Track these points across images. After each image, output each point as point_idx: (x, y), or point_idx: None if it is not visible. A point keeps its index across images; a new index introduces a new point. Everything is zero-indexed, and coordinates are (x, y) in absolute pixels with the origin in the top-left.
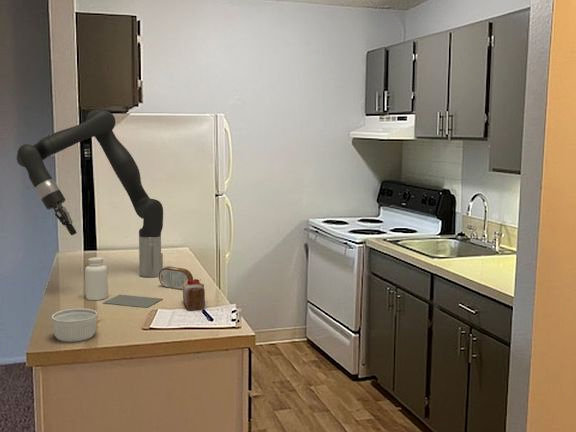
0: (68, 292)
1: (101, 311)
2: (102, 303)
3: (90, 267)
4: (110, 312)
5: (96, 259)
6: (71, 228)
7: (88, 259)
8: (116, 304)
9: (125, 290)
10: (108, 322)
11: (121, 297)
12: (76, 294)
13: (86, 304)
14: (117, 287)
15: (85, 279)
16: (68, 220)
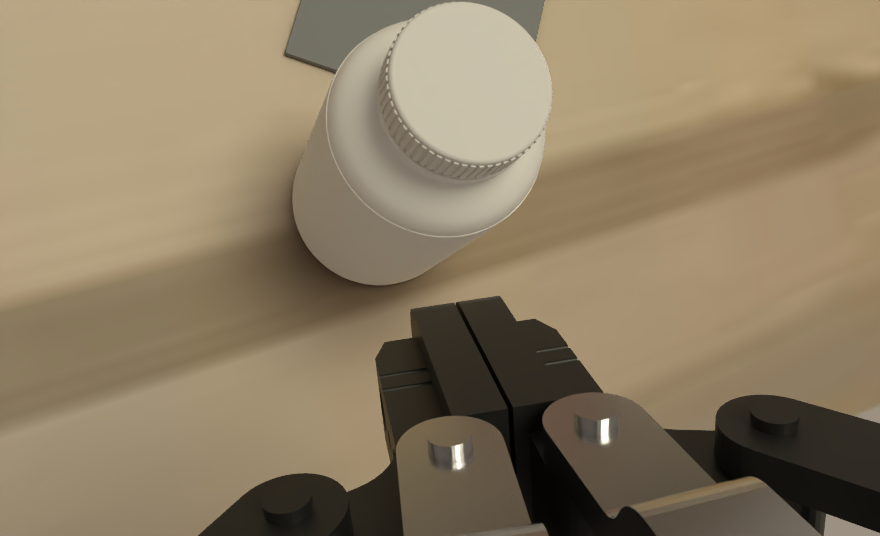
0: (214, 501)
1: (676, 102)
2: None
3: (528, 151)
4: (686, 47)
5: (527, 59)
6: (580, 377)
7: (512, 157)
8: (536, 35)
9: (119, 33)
10: (842, 27)
11: (369, 26)
12: (279, 403)
13: (546, 235)
14: (4, 116)
15: (466, 244)
16: (797, 421)
